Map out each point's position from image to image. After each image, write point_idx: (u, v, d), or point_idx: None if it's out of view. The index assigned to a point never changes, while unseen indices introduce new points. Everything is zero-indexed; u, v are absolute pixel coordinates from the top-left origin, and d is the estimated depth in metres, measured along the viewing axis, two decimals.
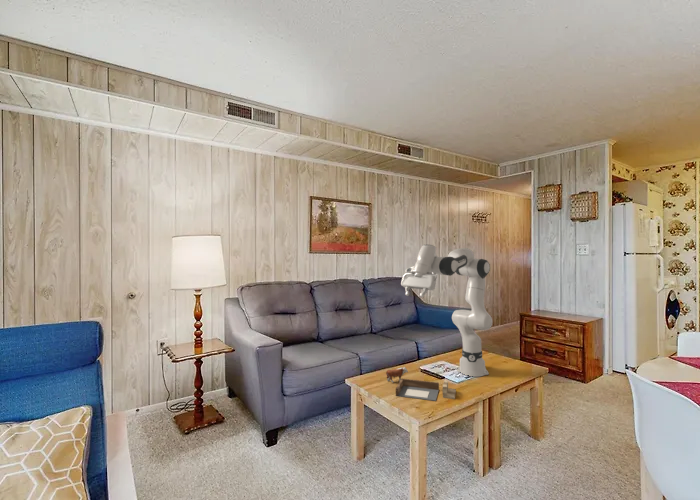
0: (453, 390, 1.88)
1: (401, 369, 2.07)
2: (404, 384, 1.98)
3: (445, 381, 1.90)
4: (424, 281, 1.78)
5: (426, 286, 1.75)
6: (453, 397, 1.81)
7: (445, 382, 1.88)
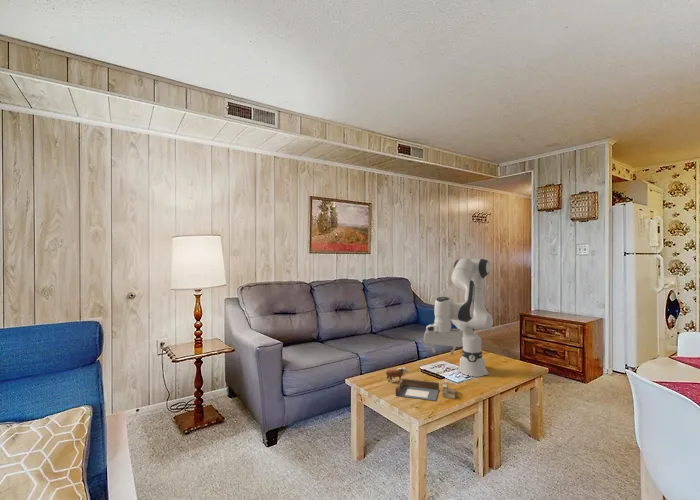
0: (453, 390, 1.88)
1: (401, 369, 2.07)
2: (404, 384, 1.98)
3: (445, 381, 1.90)
4: (452, 340, 1.83)
5: (456, 345, 1.82)
6: (453, 397, 1.81)
7: (445, 382, 1.88)
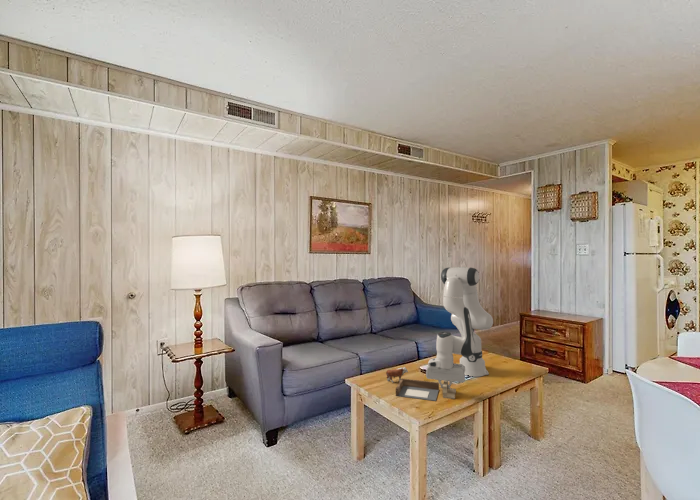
0: (453, 390, 1.88)
1: (401, 369, 2.07)
2: (404, 384, 1.98)
3: (445, 381, 1.90)
4: (455, 376, 1.84)
5: (459, 381, 1.83)
6: (453, 397, 1.81)
7: (445, 382, 1.88)
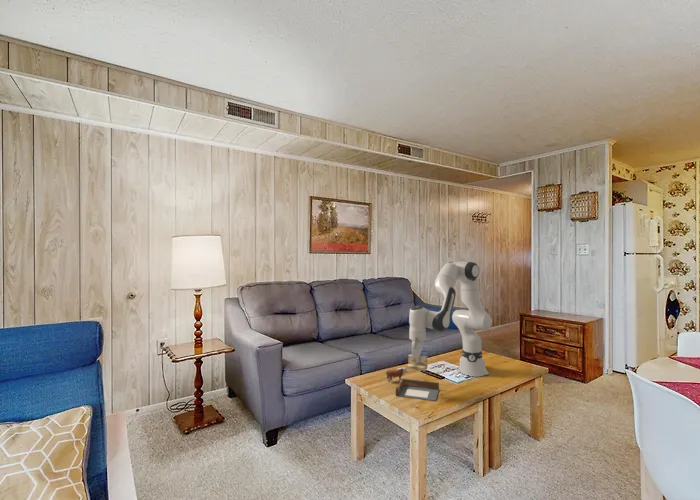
0: (422, 366, 1.84)
1: (401, 369, 2.07)
2: (404, 384, 1.98)
3: (422, 356, 1.88)
4: None
5: None
6: (407, 366, 1.86)
7: None
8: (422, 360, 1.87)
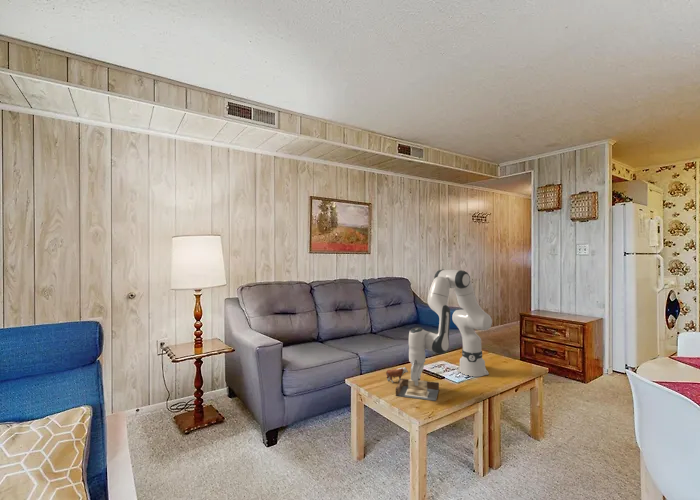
0: (421, 392, 1.85)
1: (401, 369, 2.07)
2: (404, 384, 1.98)
3: (422, 381, 1.89)
4: None
5: None
6: None
7: (419, 380, 1.89)
8: (422, 385, 1.88)
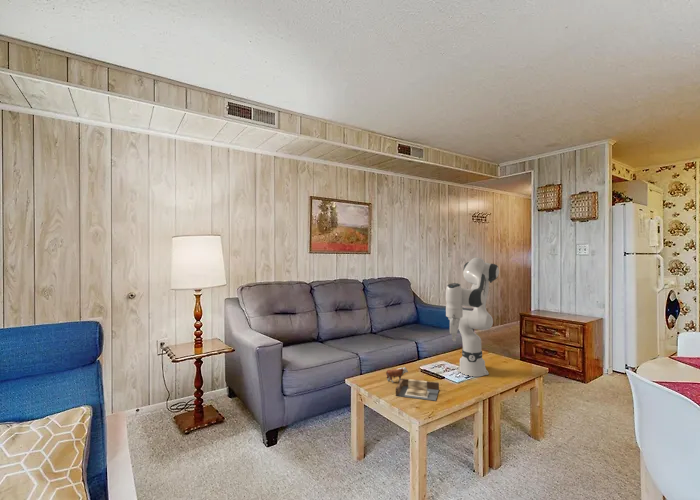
0: (421, 392, 1.85)
1: (401, 369, 2.07)
2: (404, 384, 1.98)
3: (422, 381, 1.89)
4: None
5: None
6: None
7: (419, 380, 1.89)
8: (422, 385, 1.88)
